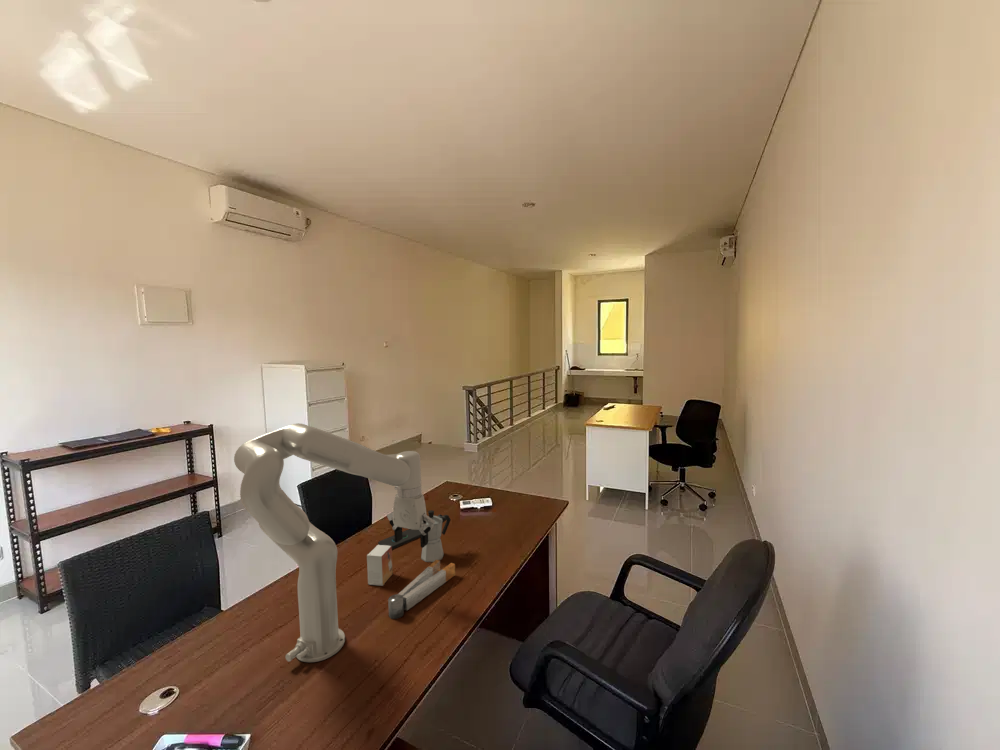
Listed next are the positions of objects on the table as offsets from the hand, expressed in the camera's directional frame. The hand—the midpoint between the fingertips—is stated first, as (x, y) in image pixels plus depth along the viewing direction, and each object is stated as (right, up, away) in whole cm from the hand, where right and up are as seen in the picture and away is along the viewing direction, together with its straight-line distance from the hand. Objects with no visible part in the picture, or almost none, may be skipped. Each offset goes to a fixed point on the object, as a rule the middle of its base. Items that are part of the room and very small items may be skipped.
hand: (411, 543), depth 138 cm
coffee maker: (+3, -16, +28) cm, 33 cm away
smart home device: (-12, -16, +43) cm, 47 cm away
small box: (-13, -18, +13) cm, 26 cm away
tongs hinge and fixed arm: (+2, -18, +4) cm, 18 cm away
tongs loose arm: (+6, -18, +5) cm, 19 cm away
